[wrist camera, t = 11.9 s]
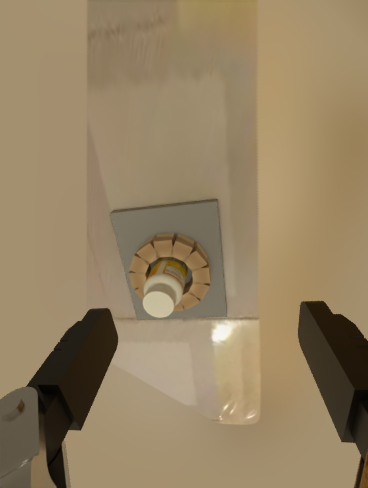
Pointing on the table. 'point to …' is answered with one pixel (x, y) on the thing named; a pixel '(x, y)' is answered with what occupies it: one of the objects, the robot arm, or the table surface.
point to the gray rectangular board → (175, 221)
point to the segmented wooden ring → (180, 250)
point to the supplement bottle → (164, 286)
